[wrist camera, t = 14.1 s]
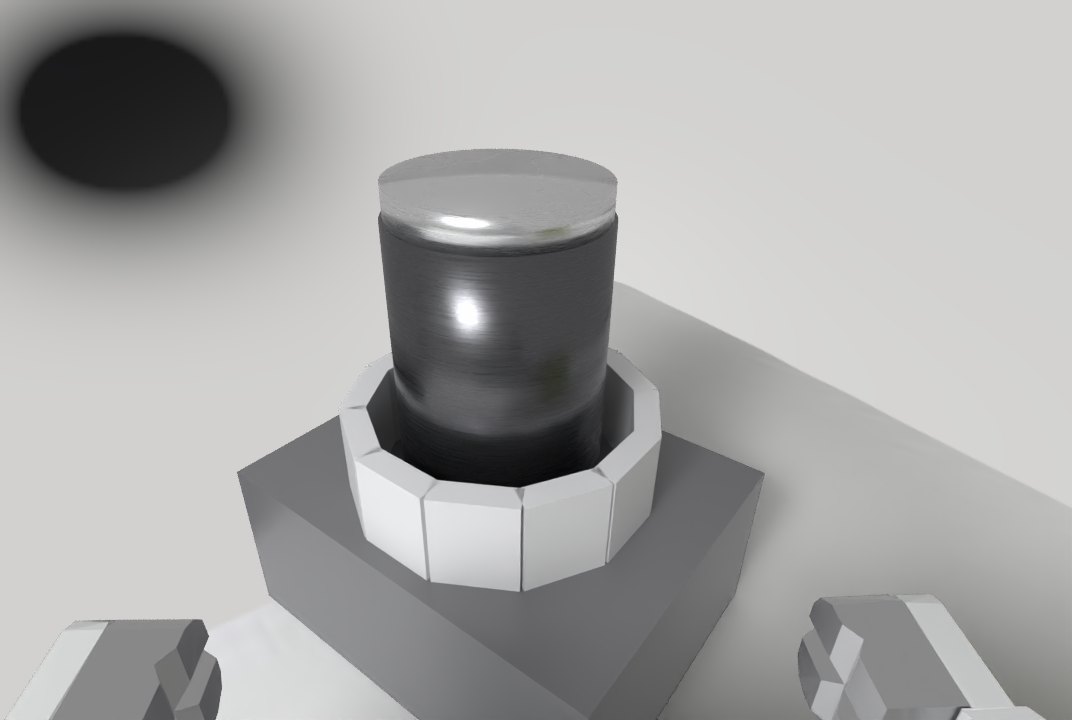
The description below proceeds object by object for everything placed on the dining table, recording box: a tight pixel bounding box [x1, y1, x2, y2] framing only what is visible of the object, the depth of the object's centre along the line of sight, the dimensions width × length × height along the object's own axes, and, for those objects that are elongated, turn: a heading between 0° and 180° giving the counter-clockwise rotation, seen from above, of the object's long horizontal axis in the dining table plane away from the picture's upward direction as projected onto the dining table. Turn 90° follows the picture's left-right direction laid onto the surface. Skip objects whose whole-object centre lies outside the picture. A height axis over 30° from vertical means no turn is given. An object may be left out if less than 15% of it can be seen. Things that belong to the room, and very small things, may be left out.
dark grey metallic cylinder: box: [378, 149, 618, 488], centre depth 20 cm, size 6×6×10 cm
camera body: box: [237, 348, 764, 720], centre depth 24 cm, size 14×11×9 cm
